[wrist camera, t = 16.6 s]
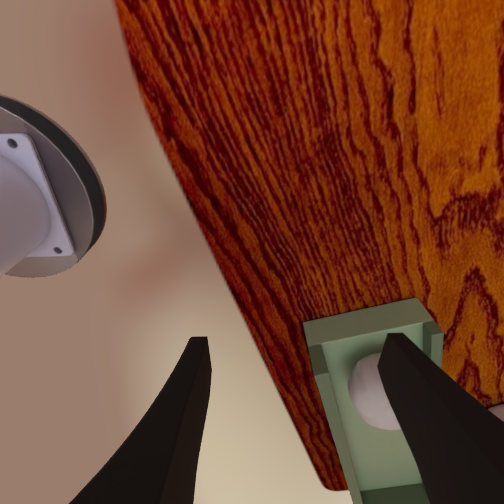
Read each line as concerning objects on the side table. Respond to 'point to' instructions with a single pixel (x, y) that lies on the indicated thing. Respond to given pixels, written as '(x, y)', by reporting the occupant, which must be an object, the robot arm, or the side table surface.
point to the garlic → (371, 394)
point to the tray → (343, 410)
